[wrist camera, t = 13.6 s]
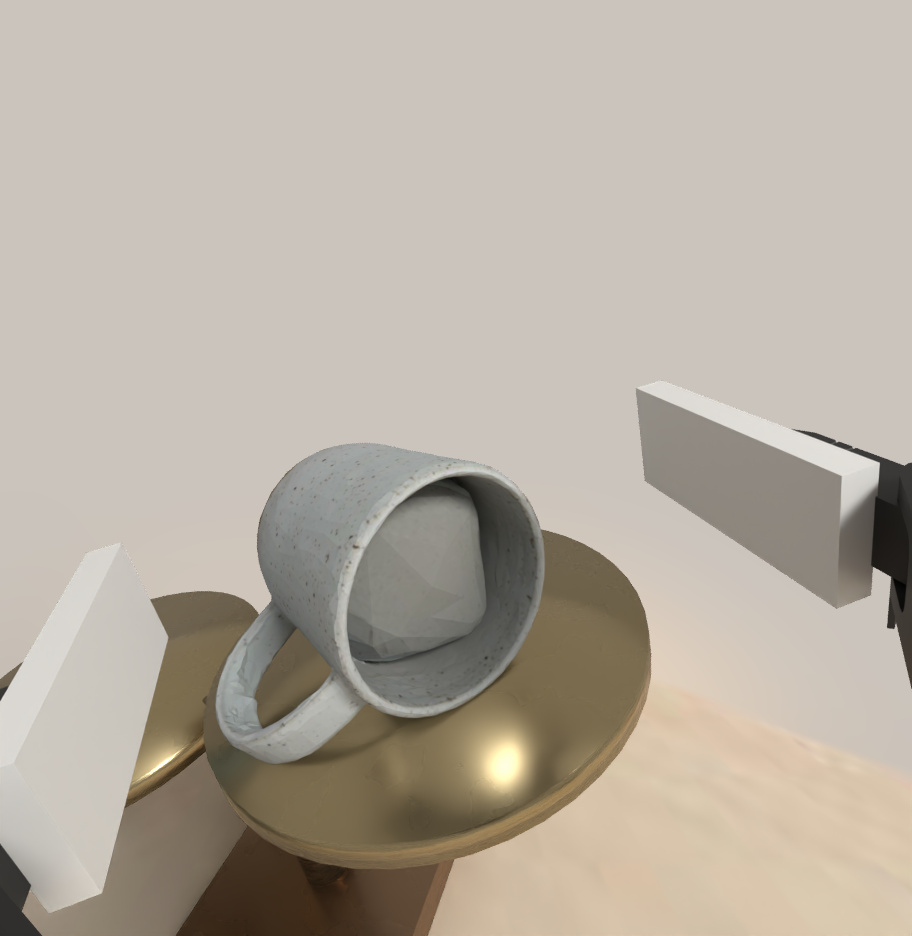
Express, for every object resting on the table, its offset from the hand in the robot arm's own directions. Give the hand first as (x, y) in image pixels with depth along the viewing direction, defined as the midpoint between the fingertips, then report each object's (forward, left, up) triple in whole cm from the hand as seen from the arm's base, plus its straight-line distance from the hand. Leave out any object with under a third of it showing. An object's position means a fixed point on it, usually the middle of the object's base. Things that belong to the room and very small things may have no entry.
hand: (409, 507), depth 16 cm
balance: (-13, +4, -25) cm, 29 cm away
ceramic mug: (-4, +2, -8) cm, 9 cm away
